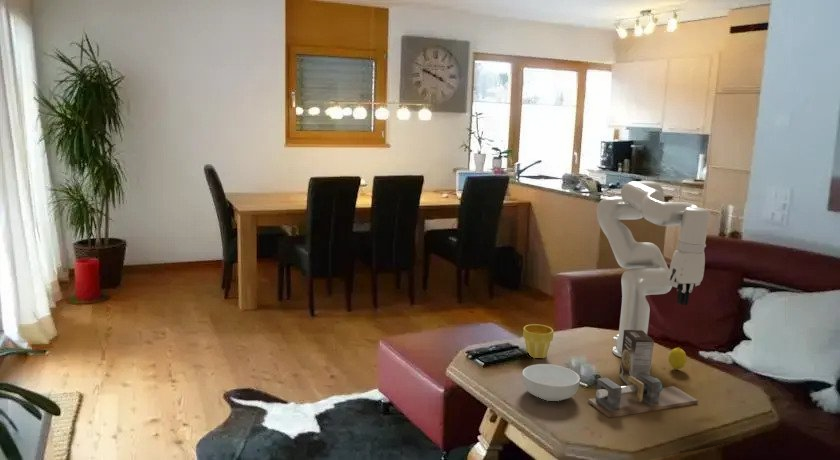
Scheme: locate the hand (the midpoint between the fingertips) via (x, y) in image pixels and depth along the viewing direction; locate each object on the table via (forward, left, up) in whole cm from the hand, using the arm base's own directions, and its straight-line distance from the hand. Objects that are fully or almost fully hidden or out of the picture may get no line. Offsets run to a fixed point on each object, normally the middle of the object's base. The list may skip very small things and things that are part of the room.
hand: (682, 303), depth 202 cm
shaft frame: (+9, -20, -27) cm, 34 cm away
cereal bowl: (-3, -45, -27) cm, 52 cm away
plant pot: (-32, -32, -27) cm, 52 cm away
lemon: (-8, +8, -27) cm, 29 cm away
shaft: (+9, -26, -24) cm, 36 cm away
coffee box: (-4, -13, -27) cm, 30 cm away
